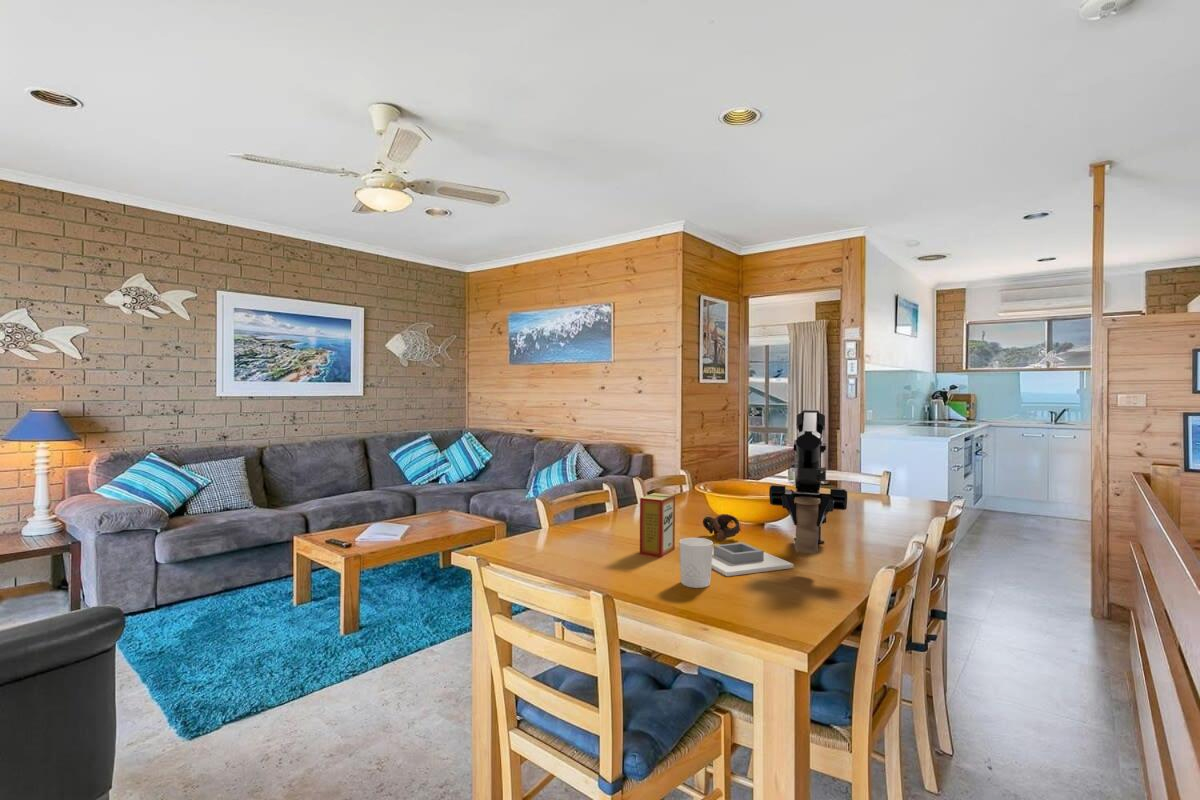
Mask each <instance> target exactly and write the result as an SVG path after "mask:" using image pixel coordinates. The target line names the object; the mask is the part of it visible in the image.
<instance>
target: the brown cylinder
mask: <svg viewBox="0 0 1200 800" xmlns="http://www.w3.org/2000/svg"><path fill="white" fill-rule="evenodd" d="M795 503H796V525H795V538H796V540H795V550H796V551H797V552H798V553H799V552H800V553H803V554H816V553H818V551H819V548H818V547H819V546H818V545H819V543H818V504H820V499H819V498H815V497H806V496H800V497H795V499H794V504H795Z"/></svg>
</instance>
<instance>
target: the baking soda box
mask: <svg viewBox="0 0 1200 800" xmlns="http://www.w3.org/2000/svg"><path fill="white" fill-rule="evenodd" d="M675 525H676V494H668V493H667V494H666V493H658V492H657V493H656V492H653V493H651V494H647V495H645V496H643V497H642V496H641V497H640V498H639V555H643V556H649V557H655V558H663V557H664V556H667V554H669V553H671V552H673V551H675V546H676V545H675V544H676V543H675V539H676V537H675V535H676V532H675V531H676V530H675V529H676V528H675V527H676V526H675Z"/></svg>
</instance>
